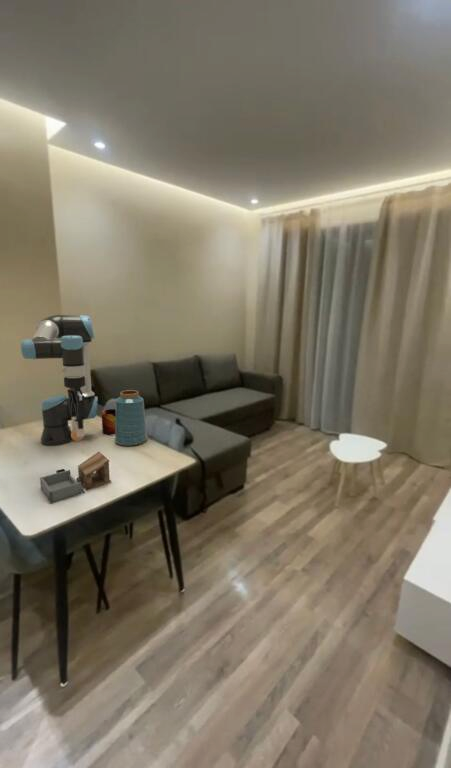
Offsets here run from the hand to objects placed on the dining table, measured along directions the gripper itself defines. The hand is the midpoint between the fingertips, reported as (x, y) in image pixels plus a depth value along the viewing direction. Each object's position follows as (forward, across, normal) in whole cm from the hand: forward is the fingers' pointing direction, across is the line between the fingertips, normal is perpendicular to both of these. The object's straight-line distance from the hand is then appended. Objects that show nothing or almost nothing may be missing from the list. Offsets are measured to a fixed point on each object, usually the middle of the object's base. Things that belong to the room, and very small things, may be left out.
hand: (78, 434), depth 136 cm
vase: (+19, -28, +34) cm, 48 cm away
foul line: (+20, +4, -3) cm, 20 cm away
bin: (+20, +4, -9) cm, 22 cm away
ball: (0, 0, 0) cm, 0 cm away
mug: (+19, -47, +32) cm, 60 cm away
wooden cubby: (+20, +4, +4) cm, 20 cm away
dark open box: (+20, -8, -6) cm, 22 cm away
